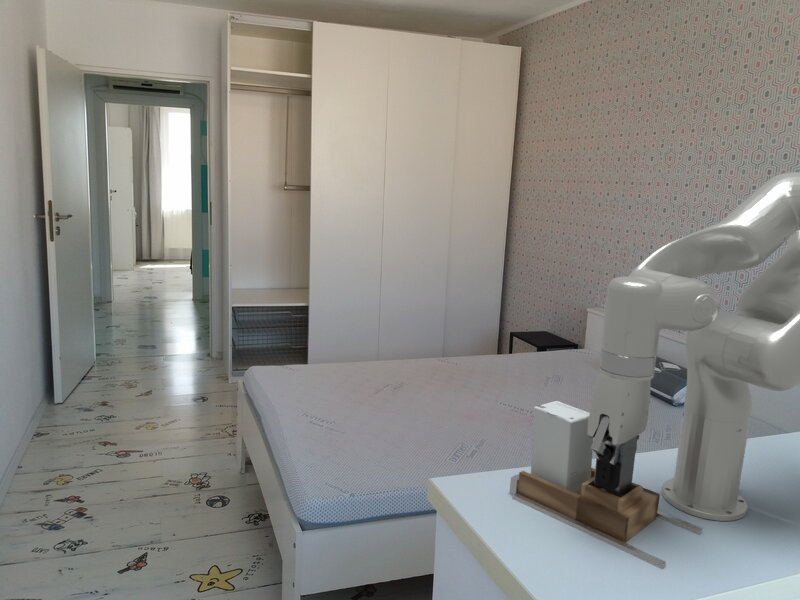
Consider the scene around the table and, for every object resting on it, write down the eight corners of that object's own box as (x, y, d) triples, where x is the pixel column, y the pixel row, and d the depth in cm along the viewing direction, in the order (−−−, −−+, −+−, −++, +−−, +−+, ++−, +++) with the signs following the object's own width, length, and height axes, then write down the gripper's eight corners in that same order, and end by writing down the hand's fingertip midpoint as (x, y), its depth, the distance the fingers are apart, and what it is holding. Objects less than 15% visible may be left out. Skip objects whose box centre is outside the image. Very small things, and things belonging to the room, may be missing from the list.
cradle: (554, 475, 111) (557, 443, 109) (656, 518, 98) (661, 481, 97) (517, 495, 103) (520, 460, 102) (622, 544, 90) (627, 505, 89)
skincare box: (589, 502, 102) (599, 415, 99) (563, 511, 99) (573, 421, 96) (551, 480, 109) (559, 398, 106) (525, 488, 106) (533, 404, 103)
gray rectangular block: (631, 486, 95) (637, 436, 93) (618, 494, 92) (624, 443, 91) (606, 476, 98) (612, 427, 96) (593, 484, 95) (599, 434, 94)
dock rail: (552, 471, 112) (554, 455, 112) (702, 533, 95) (704, 514, 94) (506, 496, 103) (507, 479, 102) (662, 570, 85) (664, 549, 84)
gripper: (629, 348, 100) (616, 457, 103) (573, 367, 88) (561, 489, 92) (677, 359, 94) (662, 473, 98) (624, 381, 83) (609, 509, 86)
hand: (613, 480), depth 95 cm, fingers closed on gray rectangular block, 4 cm apart
